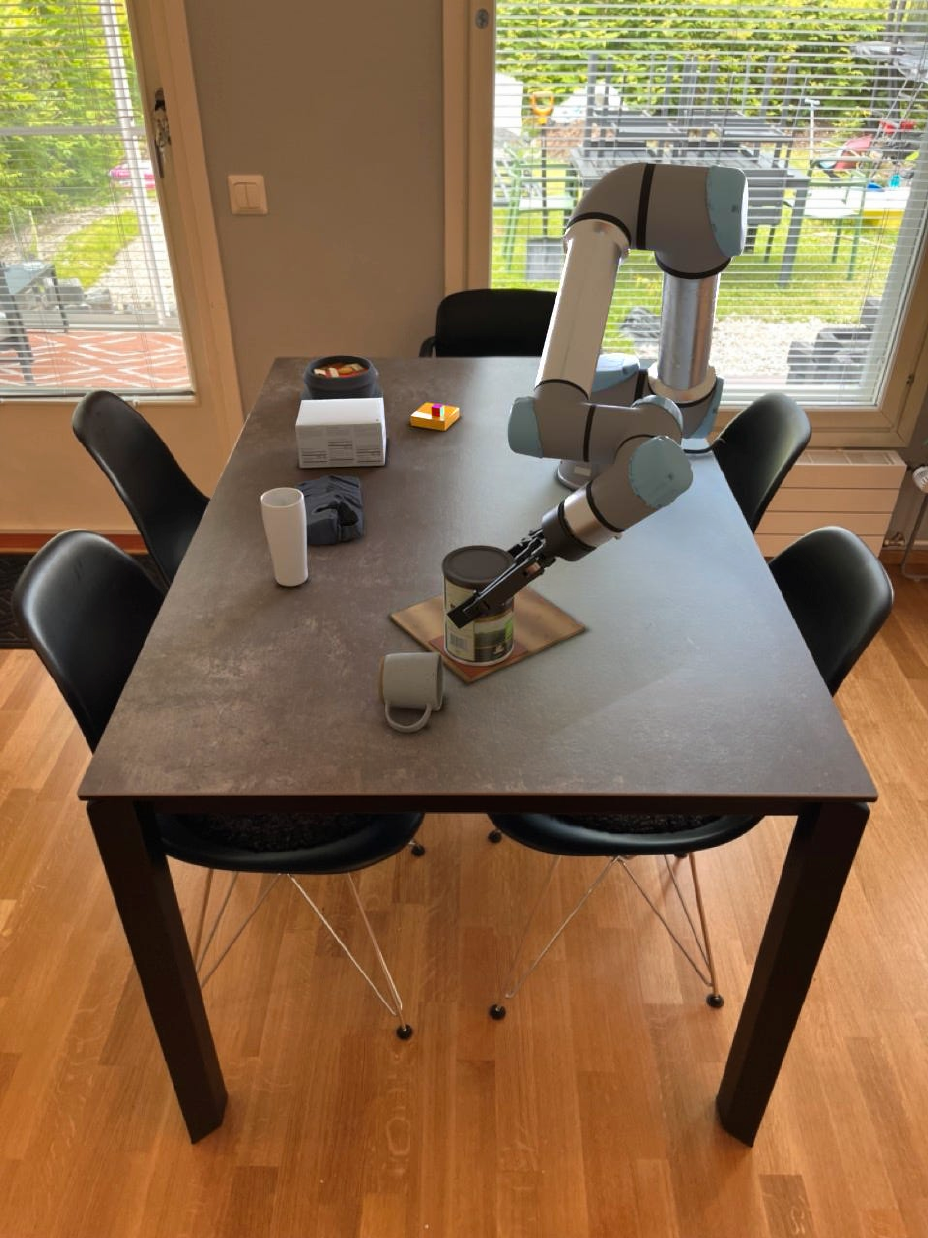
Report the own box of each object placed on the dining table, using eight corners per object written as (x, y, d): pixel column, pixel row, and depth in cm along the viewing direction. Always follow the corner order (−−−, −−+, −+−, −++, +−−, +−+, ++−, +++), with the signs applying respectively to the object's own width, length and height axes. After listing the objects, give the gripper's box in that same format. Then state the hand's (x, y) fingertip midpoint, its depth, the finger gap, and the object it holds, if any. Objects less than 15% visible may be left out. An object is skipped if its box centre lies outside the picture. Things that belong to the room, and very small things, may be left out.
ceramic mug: (386, 683, 136) (383, 639, 131) (444, 685, 135) (443, 641, 131) (374, 734, 127) (371, 689, 123) (437, 737, 126) (435, 692, 122)
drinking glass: (320, 572, 160) (311, 490, 151) (301, 593, 155) (291, 510, 146) (283, 565, 162) (272, 484, 153) (263, 586, 156) (251, 503, 148)
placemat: (503, 573, 159) (504, 569, 159) (585, 630, 146) (585, 625, 145) (390, 618, 149) (390, 614, 148) (467, 684, 135) (467, 679, 135)
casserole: (381, 423, 210) (379, 386, 205) (295, 425, 209) (291, 388, 204) (385, 380, 230) (383, 346, 225) (306, 382, 230) (303, 347, 225)
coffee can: (518, 629, 145) (521, 548, 137) (507, 671, 136) (509, 587, 128) (451, 621, 147) (450, 541, 138) (436, 662, 138) (433, 579, 130)
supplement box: (386, 439, 203) (384, 396, 198) (384, 466, 192) (382, 422, 187) (305, 440, 202) (300, 398, 197) (299, 468, 192) (294, 424, 186)
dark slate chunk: (372, 486, 185) (370, 464, 182) (361, 545, 167) (359, 521, 164) (292, 486, 185) (289, 464, 182) (272, 545, 167) (269, 521, 164)
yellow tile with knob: (410, 425, 209) (409, 406, 206) (426, 411, 215) (425, 393, 212) (444, 431, 206) (444, 412, 204) (459, 417, 212) (459, 398, 210)
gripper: (568, 594, 115) (454, 664, 128) (628, 503, 133) (523, 572, 147) (527, 546, 113) (417, 621, 127) (594, 461, 132) (491, 534, 146)
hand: (474, 595), depth 137 cm, fingers open, 13 cm apart
